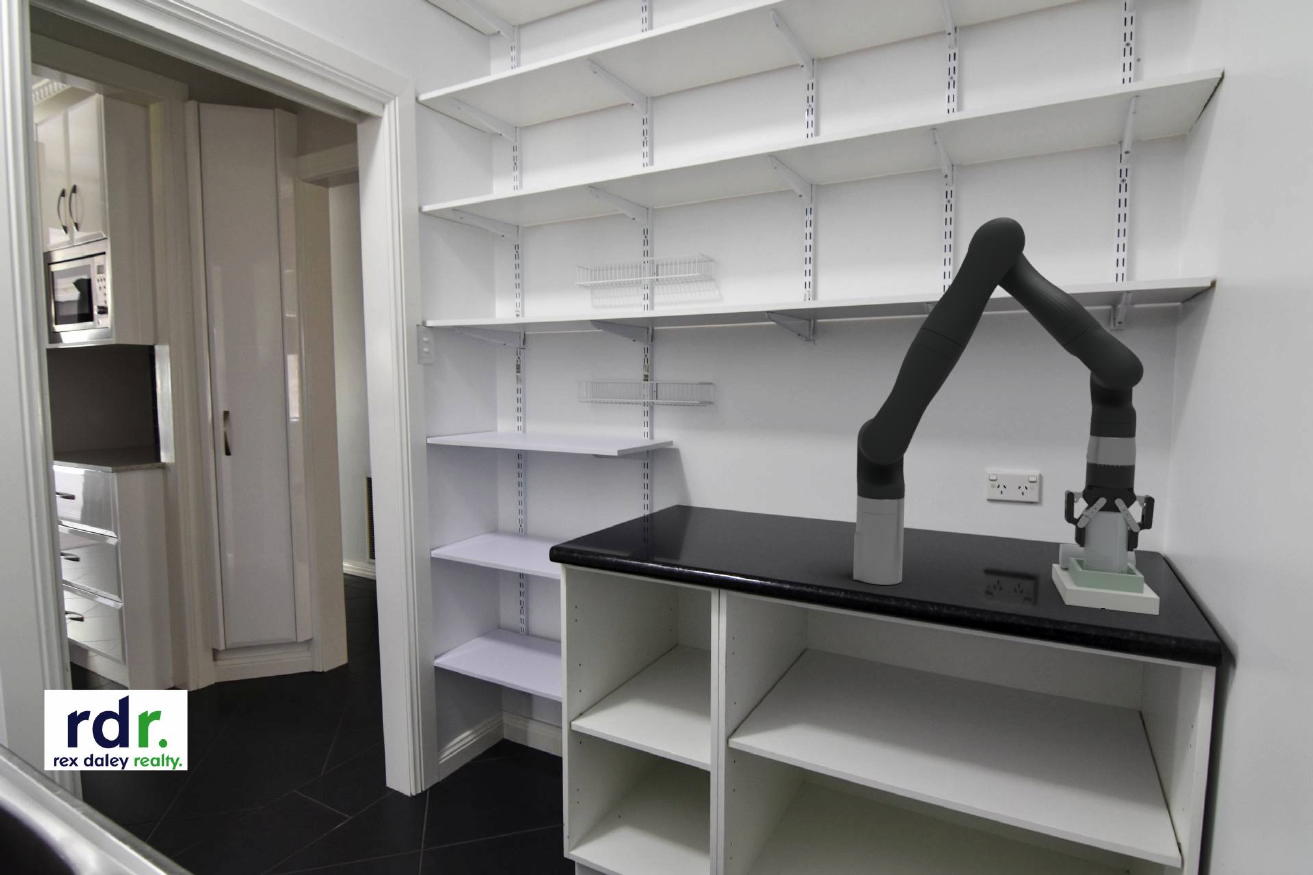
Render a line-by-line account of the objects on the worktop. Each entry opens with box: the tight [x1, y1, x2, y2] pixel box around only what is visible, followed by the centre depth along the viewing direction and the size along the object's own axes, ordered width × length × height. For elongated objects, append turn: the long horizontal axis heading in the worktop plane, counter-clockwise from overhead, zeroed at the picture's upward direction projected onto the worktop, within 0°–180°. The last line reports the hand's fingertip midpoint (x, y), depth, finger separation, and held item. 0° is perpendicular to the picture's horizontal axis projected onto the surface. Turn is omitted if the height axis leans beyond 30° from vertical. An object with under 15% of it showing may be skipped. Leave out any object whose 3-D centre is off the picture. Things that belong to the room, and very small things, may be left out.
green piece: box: [1068, 557, 1145, 593], centre depth 127 cm, size 10×10×3 cm
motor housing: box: [1051, 543, 1161, 616], centre depth 129 cm, size 14×18×8 cm
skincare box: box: [1083, 509, 1129, 574], centre depth 127 cm, size 6×4×12 cm
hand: (1105, 548), depth 127 cm, fingers closed on skincare box, 7 cm apart
